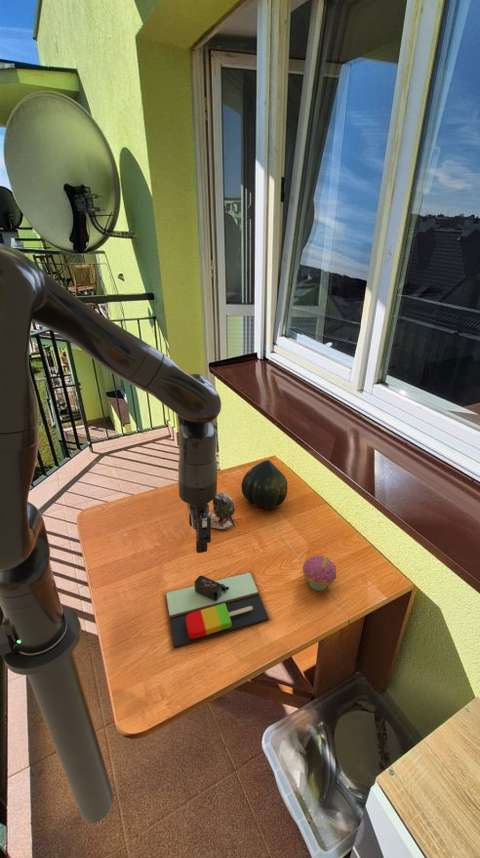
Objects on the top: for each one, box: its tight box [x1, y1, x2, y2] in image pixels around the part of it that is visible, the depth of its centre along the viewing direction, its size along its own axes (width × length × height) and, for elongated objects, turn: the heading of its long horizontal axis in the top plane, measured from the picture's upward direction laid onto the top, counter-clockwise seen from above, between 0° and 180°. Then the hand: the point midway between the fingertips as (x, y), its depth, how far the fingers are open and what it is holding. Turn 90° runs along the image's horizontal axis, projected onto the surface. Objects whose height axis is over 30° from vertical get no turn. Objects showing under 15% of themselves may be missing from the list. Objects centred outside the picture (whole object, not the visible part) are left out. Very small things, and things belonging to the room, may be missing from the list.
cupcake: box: [302, 553, 337, 591], centre depth 94 cm, size 9×8×12 cm
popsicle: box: [186, 603, 253, 639], centre depth 84 cm, size 6×15×2 cm, turn 113°
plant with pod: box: [209, 471, 237, 531], centre depth 109 cm, size 8×11×20 cm
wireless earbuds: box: [193, 575, 229, 601], centre depth 91 cm, size 5×7×3 cm, turn 66°
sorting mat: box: [165, 572, 270, 649], centre depth 88 cm, size 21×14×1 cm, turn 112°
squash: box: [240, 459, 288, 511], centre depth 123 cm, size 14×15×15 cm
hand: (197, 537), depth 82 cm, fingers open, 8 cm apart
